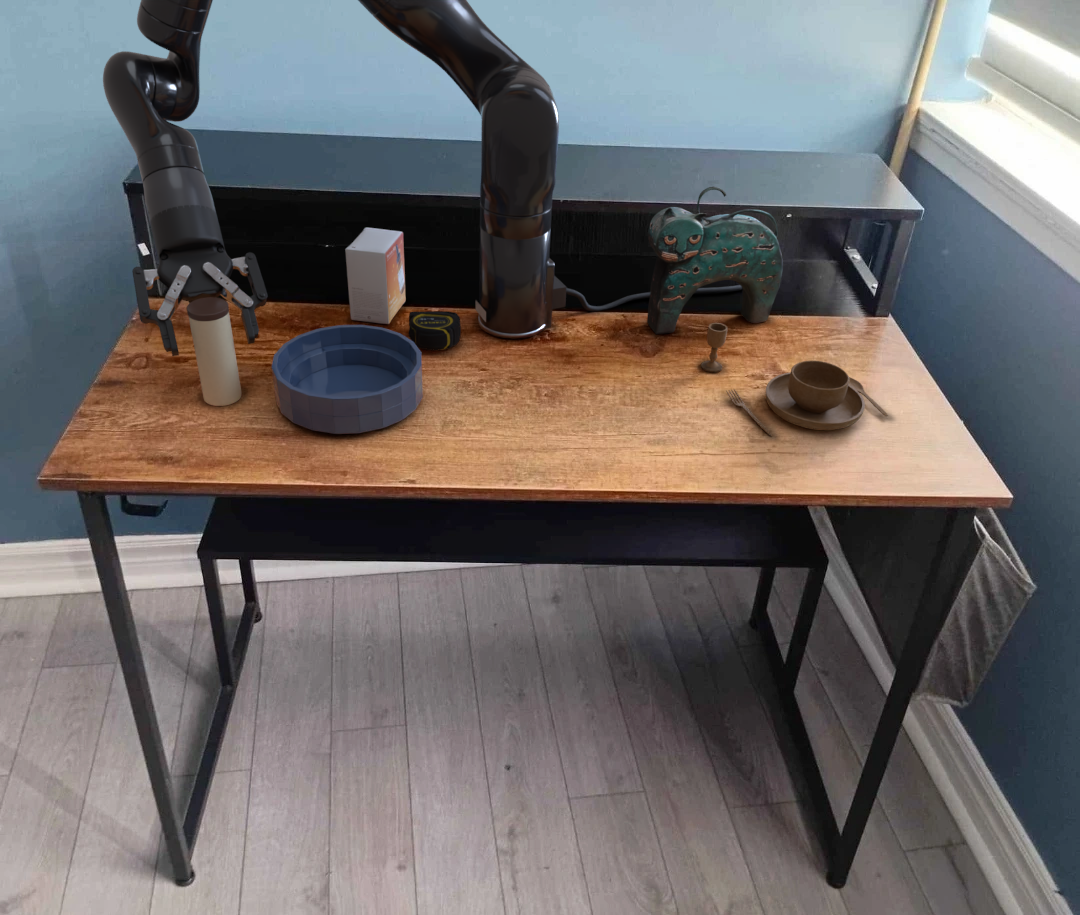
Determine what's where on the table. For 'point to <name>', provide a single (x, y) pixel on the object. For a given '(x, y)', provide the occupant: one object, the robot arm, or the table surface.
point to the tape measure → (434, 329)
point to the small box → (376, 275)
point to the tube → (214, 350)
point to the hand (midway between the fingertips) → (214, 347)
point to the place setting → (803, 391)
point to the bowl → (348, 378)
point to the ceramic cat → (711, 261)
